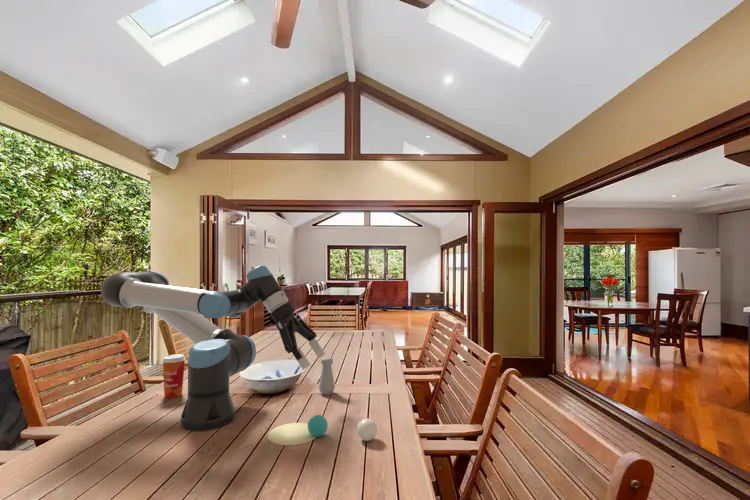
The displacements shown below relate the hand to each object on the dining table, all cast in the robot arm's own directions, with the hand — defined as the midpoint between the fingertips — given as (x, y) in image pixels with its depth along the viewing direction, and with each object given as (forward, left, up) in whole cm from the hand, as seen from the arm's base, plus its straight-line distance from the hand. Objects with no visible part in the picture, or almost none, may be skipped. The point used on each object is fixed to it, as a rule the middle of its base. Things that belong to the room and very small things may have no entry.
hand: (314, 361), depth 125 cm
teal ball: (+7, -17, -13) cm, 23 cm away
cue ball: (+21, -17, -13) cm, 30 cm away
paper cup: (-55, +5, -16) cm, 58 cm away
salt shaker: (-1, +17, -16) cm, 23 cm away
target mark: (0, -17, -16) cm, 23 cm away
